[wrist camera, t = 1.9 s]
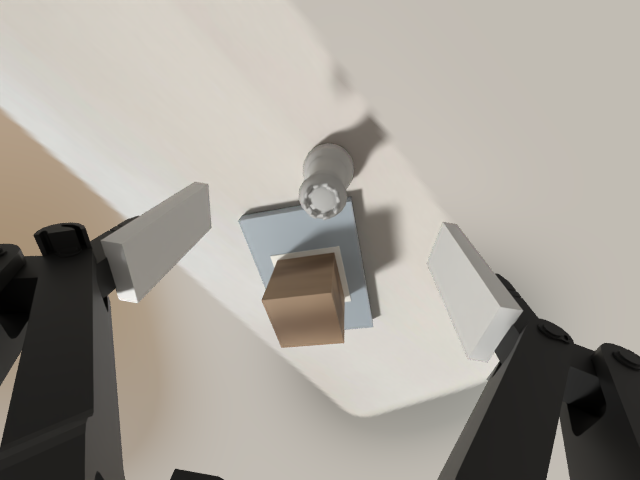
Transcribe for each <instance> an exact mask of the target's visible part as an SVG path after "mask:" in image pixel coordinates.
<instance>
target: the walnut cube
mask: <svg viewBox="0 0 640 480" xmlns="http://www.w3.org/2000/svg"><path fill="white" fill-rule="evenodd" d="M262 303H263V305H264V307H265V310H266V312H267V314H268V317H269V319H270V321H271V324H272V326H273V329H274V331H275V333H276V336H277V338H278V340H279V343H280V345H281V347H282V348H285V347H298V346H311V345H324V344H337V343H344V315H345V297H344V292H343V288H342V284H341V279H340V275H339V271H338V266H337V262H336V258H335V253H327V254H319V255H312V256H305V257H298V258H290V259H283V260H277V262H276V265H275V268H274V270H273V273H272V275H271V278H270V280H269V283H268V285H267V288H266V291H265V293H264V296H263V298H262Z"/></svg>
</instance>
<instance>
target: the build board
mask: <svg viewBox="0 0 640 480" xmlns="http://www.w3.org/2000/svg"><path fill="white" fill-rule="evenodd" d="M238 222H239V224H240V227H241V229H242V232H243V234H244V237H245V239H246V241H247V244H248V246H249V249H250V251H251V254H252V256H253V259H254V261H255V264H256V266H257V269H258V271H259V274H260V276H261V279H262V281H263V284H264V286H265V289H266V288H267V285H268V283H269V280H270V278H271V275H272V273H273V270H274V268H275V265H276V262H277V260H283V259H290V258H298V257H305V256H312V255H319V254H327V253H335V258H336V262H337V266H338V271H339V275H340V279H341V284H342V288H343V292H344V297H345V315H344V330H346V329H358V328H369V327H373V320H372V314H371V308H370V303H369V297H368V291H367V285H366V280H365V274H364V268H363V262H362V257H361V251H360V245H359V239H358V234H357V228H356V222H355V216H354V211H353V205H352V199H351V197H347V201H346V205H345V207H344V208H343V210H342V211H341V212H340V213H339V214H338V215H336V216H335V217H332V218H330V219H327V220H323V219H320V218H316V219H314V218H312V217H311V216H309V214H307V212H306V211H305V210H304V209H303V208H302V206H301V205H300V206H294V207H288V208H283V209H277V210H271V211H265V212H260V213H254V214H248V215H242V217H241V218H240V219H239V220H238Z"/></svg>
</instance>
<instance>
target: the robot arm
mask: <svg viewBox="0 0 640 480" xmlns="http://www.w3.org/2000/svg"><path fill="white" fill-rule="evenodd" d="M210 229H211V215H210V201H209V188H208V184H205V183H198V182H194V183H192V184H191V185H189V186H187V187H186V188H184V189H183V190H181V191H179V192H178V193H176V194H174V195H173V196H171V197H170V198H168V199H166V200H165V201H163V202H162V203H160V204H158V205H157V206H155V207H154V208H152V209H150V210H149V211H147V212H145V213H144V214H142V215H141V216H136V217H133V218H130V219H127V220H125V221H124V222H122V223H120V224H119V225H118V226H115V227H113V228H112V229H110V231H107V232H105V233H103V234H102V235H100V236H98V237H97V238H95V239H94V240H92V241H90V240H89V237H88V234H87V231H86V228H85V227H84V225H81V224H79V223H60V224H55V225H51V226H48V227H44V228H42V229H40V230H38V231H37V232H36V233H35V234H34V237H35V240H36V242H37V244H38V246H39V249H40V251H41V253H42V255H43V256H24V255H23V254H22V251H21V249H20V248H19V247H18V246H17V245H13V244H0V385H1V383H2V382H3V380H4V379H5V377H6V375H7V374H8V372H9V370H10V369H11V367H12V365H13V364H14V362H15V361H16V359H17V357H18V356H19V354H20V352H21V351H22V352H21V357H20V361H19V366H18V370H17V374H16V379H15V383H14V388H13V392H12V397H11V401H10V406H9V410H8V415H7V419H6V424H5V428H4V433H3V438H2V442H1V446H0V480H125V476H124V470H123V460H122V447H121V434H120V421H119V409H118V396H117V383H116V370H115V358H114V345H113V332H112V319H111V306H110V300H109V297H108V294H110V293H111V292H112V291H113V290H114V289H115V288H116V291H117V294H118V298H119V300H123V301H129V302H135V303H138V302H139V301H140V300H141V299H142V298H143V297H144V296H145V295H146V294H147V293H148V292H149V291H150V290H151V289H152V288H153V287H154V286H155V285H156V284H157V283H158V282H159V281H160V280H161V279H162V278H163V277H164V276H165V275H166V274H167V273H168V272H169V271H170V270H171V269H172V268H173V266H175V265H176V264H177V263H178V261H179V260H180V259H181V258H182V257H183V256H184V255H185V254H186V253H187V252H188V251H189V250H190V249H191V248H192V247H193V246H194V245H195V244H196V243H197V242H198V241H199V240H200V239H201V238H202V237H203V236H204V235H205V234H206V233H207V232H208V231H209V230H210ZM427 265H428V268H429V270H430V272H431V274H432V277H433V279H434V281H435V284H436V286H437V288H438V291H439V293H440V295H441V298H442V300H443V302H444V305H445V307H446V309H447V312H448V314H449V316H450V319H451V321H452V323H453V326H454V328H455V330H456V333H457V335H458V337H459V340H460V342H461V344H462V347H463V349H464V351H465V354H466V356H467V358H468V359H470V360H475V361H481V362H487V363H488V361H489V360H490V358H491V357H492V355H493V354H494V352H495V353H496V355H497V357H498V358H499V360H500V362H499V363H498V364H497V366H496V367H495V368H494V370H493V371H492V373H491V374H490V375H489V377H488V378H487V380H488V383H487V384H486V386H485V389H484V390H483V392H482V394H481V396H480V398H479V400H478V402H477V404H476V406H475V408H474V410H473V412H472V414H471V415H470V417H469V419H468V421H467V423H466V425H465V427H464V429H463V431H462V433H461V435H460V437H459V439H458V441H457V443H456V444H455V447H454V448H453V450H452V452H451V454H450V456H449V458H448V460H447V462H446V464H445V466H444V468H443V470H442V471H441V473H440V475H439V478H438V480H546V478H547V473H548V468H549V463H550V459H551V454H552V449H553V444H554V439H555V435H556V429H557V425H558V420H559V416H560V422H561V428H562V434H563V440H564V446H565V452H566V458H567V464H568V469H569V476H570V480H640V356H638V355H637V354H634V352H632V351H630V350H627V349H625V348H623V347H621V346H617V345H615V344H611V343H604V344H602V345H601V346H600V347H599V348H598V349H597V350H596V351H593V350H590V349H587V348H585V347H581V346H579V345H576V344H574V342H573V340H572V338H571V337H570V336H569V334H568V333H566V332H565V331H564V330H563V329H562V328H560V327H558V326H557V325H555V324H553V323H551V322H549V321H546V320H543V319H539V318H538V317H537V316H536V315H535V313H534V312H533V311H532V310H531V309H530V307H529V306H528V305H527V303H526V302H525V301H524V300H523V298H521V296H520V295H519V293H518V292H516V290H515V289H514V287H513V286H512V285H511V284H510V283H509V282H508V281H507V280H506V279H504V278H503V277H502V276H501V275H499V274H495V273H494V272H493V271H492V269H491V268H490V267H489V265H488V264H487V263H486V262H485V260H484V259H483V258H482V256H481V255H480V254H479V253H478V251H477V250H476V249H475V247H474V246H473V245H472V243H471V242H470V241H469V239H468V238H467V237H466V235H465V234H464V233H463V232H462V230H461V229H460V228H459V226H458V225H457V224H452V223H446V222H443V223H442V226H441V228H440V231H439V233H438V236H437V238H436V241H435V243H434V246H433V248H432V251H431V253H430V256H429V258H428V261H427ZM170 480H224V479H222V478H220V477H218V476H212V475H207V474H201V473H195V472H190V471H184V470H179V469H175V470H174V472H173V475H172V477H171V479H170Z"/></svg>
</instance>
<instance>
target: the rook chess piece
mask: <svg viewBox="0 0 640 480" xmlns="http://www.w3.org/2000/svg"><path fill="white" fill-rule="evenodd" d="M353 172H354V165H353V160H352V157H351V156H350V155H349V153H348V152H347V151H346V150H345V149H344V148H342V147H340V146H339V145H337V144H330V143H325V144H322V145H318V146H316V147H315V148H314V149H312V150H311V151H310V152H309V153H308V155H307V157H306V159H305V161H304V165H303V176H304V179H305V181H304V182H303V183H302V185H301V187H300V189H299V201H300V204H301V206H302V208H303V209H304V210H305V211H306V212H307V214H309V216H311V217H312V218H314V219H316V218H320V219H323V220H327V219H330V218H332V217H335V216H336V215H338V214H339V213H340V212H341V211H342V210H343V208H344V207H345V205H346V201H347V192H346V189H347V188H348V186H349V185H350V183H351V181H352V178H353Z"/></svg>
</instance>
